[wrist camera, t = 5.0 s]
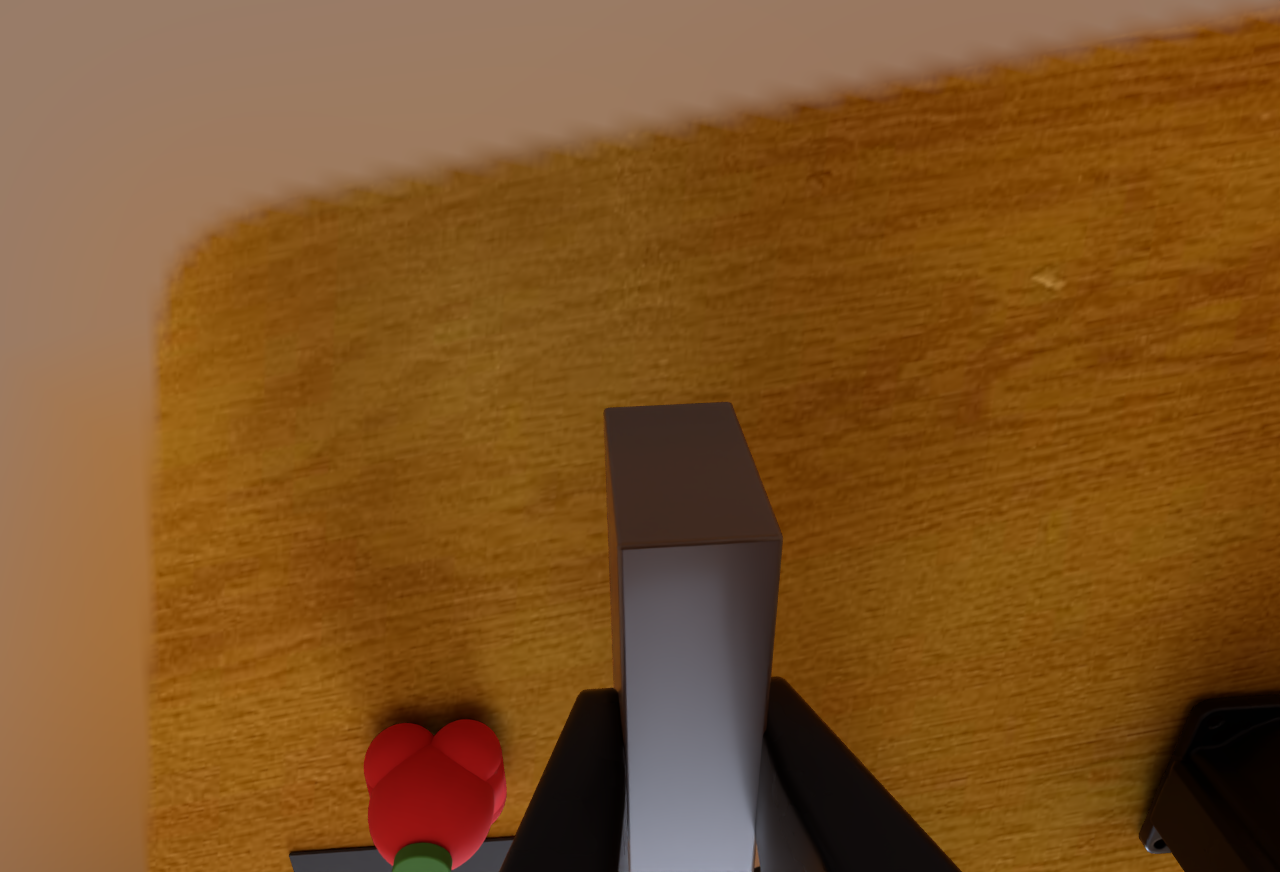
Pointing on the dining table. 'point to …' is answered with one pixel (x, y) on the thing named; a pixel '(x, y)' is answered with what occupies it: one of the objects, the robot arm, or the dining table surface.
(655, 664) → the fork
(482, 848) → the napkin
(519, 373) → the dining table surface
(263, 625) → the dining table surface
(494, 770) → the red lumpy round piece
